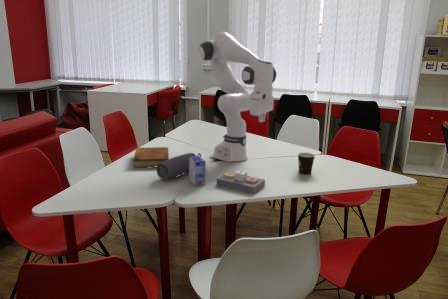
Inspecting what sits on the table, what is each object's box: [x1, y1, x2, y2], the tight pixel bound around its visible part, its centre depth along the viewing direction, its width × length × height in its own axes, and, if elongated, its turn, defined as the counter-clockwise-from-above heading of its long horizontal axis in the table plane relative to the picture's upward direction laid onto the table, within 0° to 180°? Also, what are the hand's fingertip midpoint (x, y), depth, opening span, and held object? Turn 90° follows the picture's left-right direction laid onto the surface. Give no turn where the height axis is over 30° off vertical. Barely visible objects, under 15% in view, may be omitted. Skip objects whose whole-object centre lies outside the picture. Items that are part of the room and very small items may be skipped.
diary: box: [133, 146, 170, 169], centre depth 217 cm, size 23×19×6 cm
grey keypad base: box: [216, 171, 266, 195], centre depth 184 cm, size 20×12×4 cm, turn 59°
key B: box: [234, 169, 248, 182], centre depth 183 cm, size 4×4×5 cm
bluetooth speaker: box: [155, 152, 197, 180], centre depth 195 cm, size 23×9×10 cm, turn 145°
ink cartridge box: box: [188, 153, 207, 187], centre depth 185 cm, size 10×6×14 cm, turn 23°
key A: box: [223, 171, 235, 179], centre depth 186 cm, size 4×4×5 cm
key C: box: [246, 176, 259, 184], centre depth 181 cm, size 4×4×5 cm
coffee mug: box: [297, 152, 316, 176], centre depth 205 cm, size 12×9×10 cm
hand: (261, 121), depth 189 cm, fingers closed
